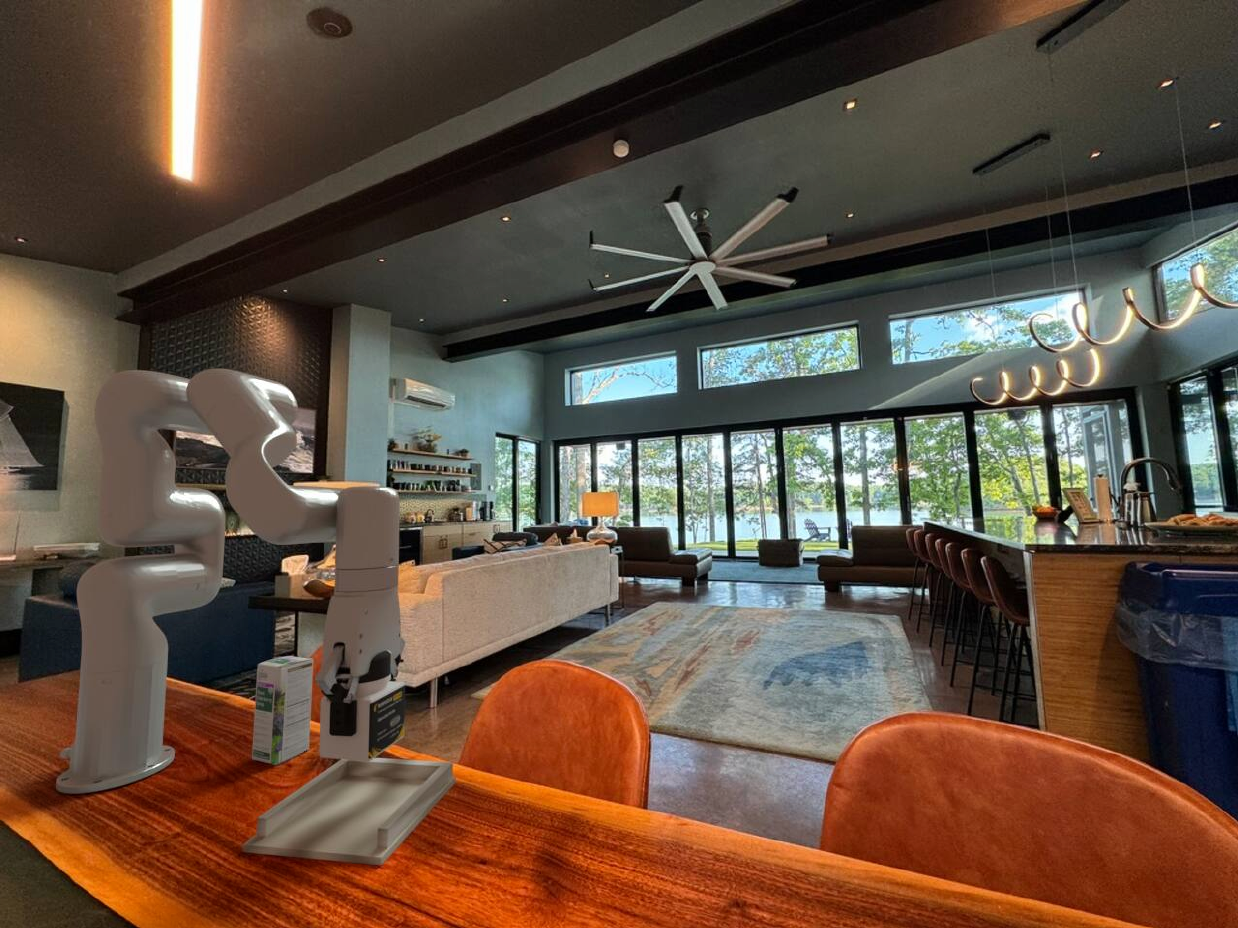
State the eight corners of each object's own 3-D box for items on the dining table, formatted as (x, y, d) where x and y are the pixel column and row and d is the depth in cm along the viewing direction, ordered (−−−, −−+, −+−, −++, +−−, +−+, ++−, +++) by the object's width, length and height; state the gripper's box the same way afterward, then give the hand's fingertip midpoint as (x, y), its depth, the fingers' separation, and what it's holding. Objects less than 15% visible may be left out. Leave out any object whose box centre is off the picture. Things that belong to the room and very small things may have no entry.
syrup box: (249, 760, 79) (254, 663, 81) (287, 744, 85) (290, 653, 86) (274, 766, 77) (279, 667, 79) (311, 749, 83) (314, 656, 84)
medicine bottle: (369, 762, 61) (371, 658, 62) (317, 758, 63) (320, 656, 64) (405, 736, 68) (407, 643, 69) (358, 733, 70) (360, 642, 71)
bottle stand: (242, 851, 58) (243, 825, 58) (345, 774, 74) (345, 754, 75) (381, 865, 55) (382, 837, 55) (455, 782, 72) (455, 761, 72)
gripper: (381, 572, 77) (379, 696, 75) (289, 591, 59) (284, 751, 58) (428, 572, 75) (427, 697, 74) (348, 591, 58) (344, 754, 57)
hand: (364, 720), depth 66 cm, fingers closed on medicine bottle, 7 cm apart
